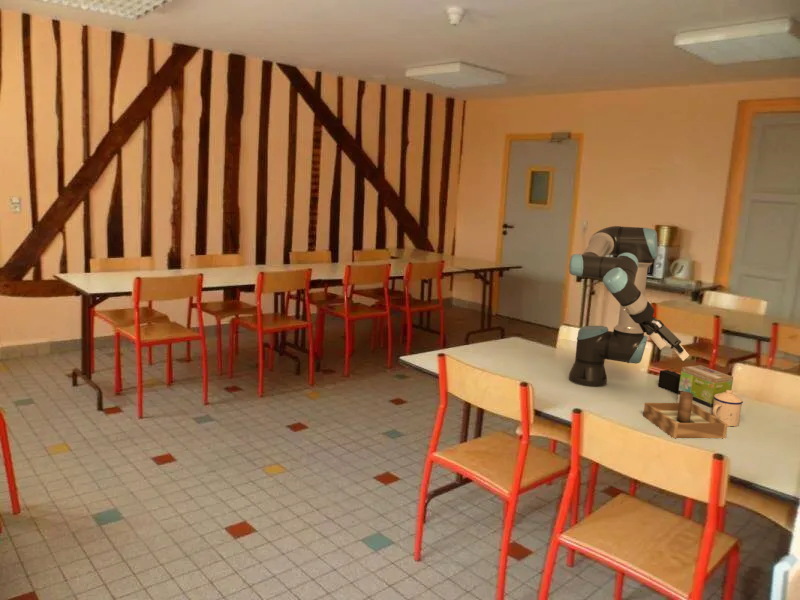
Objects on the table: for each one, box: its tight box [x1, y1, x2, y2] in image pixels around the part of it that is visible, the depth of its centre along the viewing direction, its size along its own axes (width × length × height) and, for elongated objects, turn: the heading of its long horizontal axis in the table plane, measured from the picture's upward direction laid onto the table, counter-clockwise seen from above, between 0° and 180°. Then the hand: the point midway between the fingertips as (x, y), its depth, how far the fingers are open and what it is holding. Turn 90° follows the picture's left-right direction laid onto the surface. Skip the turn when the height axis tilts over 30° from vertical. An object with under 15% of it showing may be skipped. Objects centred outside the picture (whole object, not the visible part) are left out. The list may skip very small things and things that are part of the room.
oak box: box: [642, 402, 728, 439], centre depth 211 cm, size 20×18×5 cm
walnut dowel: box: [677, 391, 693, 423], centre depth 211 cm, size 4×4×12 cm
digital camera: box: [657, 369, 681, 395], centre depth 253 cm, size 10×5×7 cm, turn 24°
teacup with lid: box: [712, 389, 744, 427], centre depth 217 cm, size 12×9×12 cm
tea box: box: [676, 364, 734, 415], centre depth 230 cm, size 15×10×15 cm
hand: (674, 352), depth 211 cm, fingers open, 13 cm apart
